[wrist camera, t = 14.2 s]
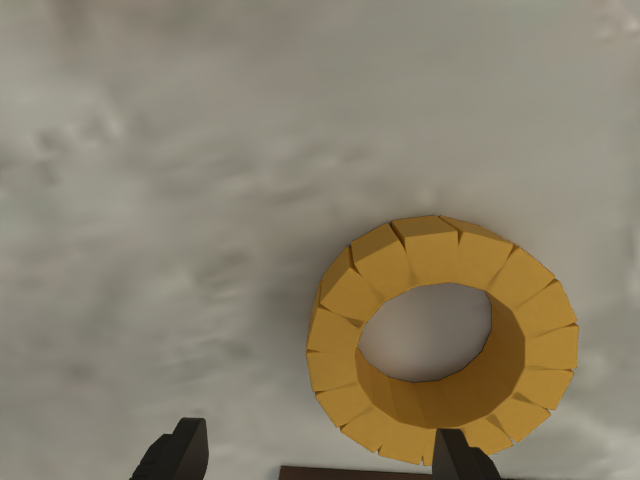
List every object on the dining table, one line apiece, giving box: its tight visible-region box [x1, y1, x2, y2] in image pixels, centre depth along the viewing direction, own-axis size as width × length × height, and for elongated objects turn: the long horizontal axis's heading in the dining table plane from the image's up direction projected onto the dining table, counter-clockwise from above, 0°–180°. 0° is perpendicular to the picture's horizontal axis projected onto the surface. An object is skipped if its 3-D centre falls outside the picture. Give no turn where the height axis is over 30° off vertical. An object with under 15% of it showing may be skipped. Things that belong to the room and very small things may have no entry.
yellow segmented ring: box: [306, 215, 579, 466], centre depth 18 cm, size 13×13×4 cm
